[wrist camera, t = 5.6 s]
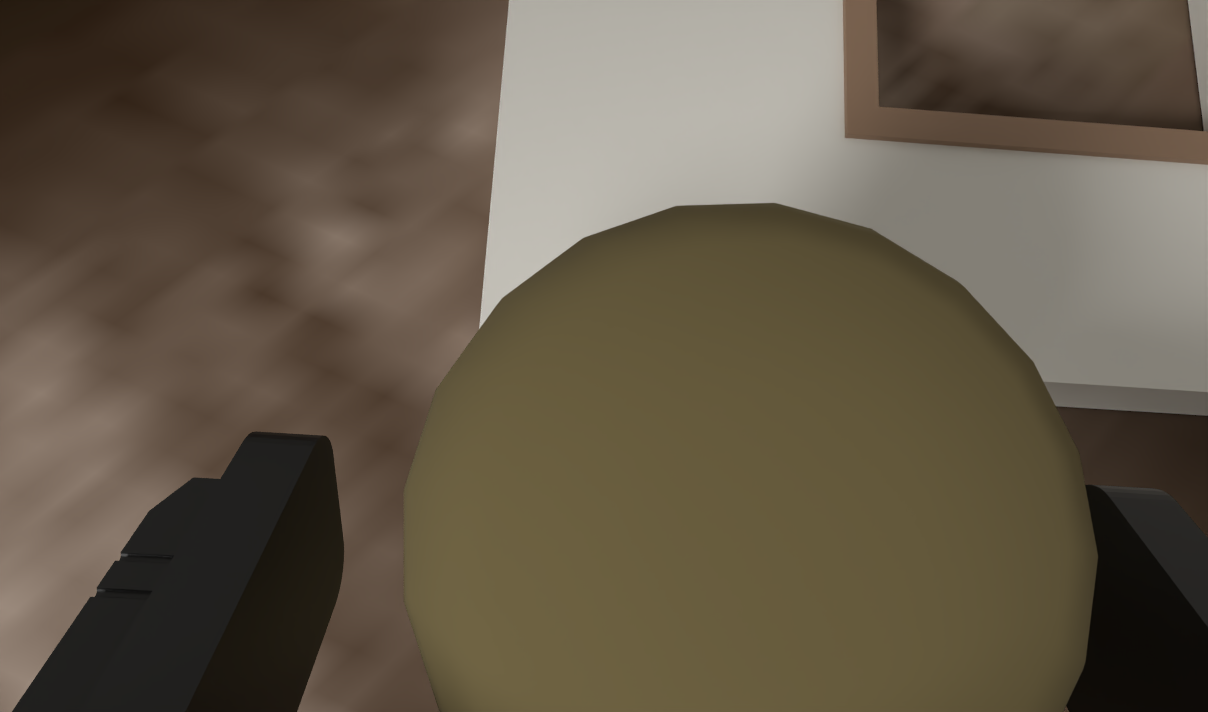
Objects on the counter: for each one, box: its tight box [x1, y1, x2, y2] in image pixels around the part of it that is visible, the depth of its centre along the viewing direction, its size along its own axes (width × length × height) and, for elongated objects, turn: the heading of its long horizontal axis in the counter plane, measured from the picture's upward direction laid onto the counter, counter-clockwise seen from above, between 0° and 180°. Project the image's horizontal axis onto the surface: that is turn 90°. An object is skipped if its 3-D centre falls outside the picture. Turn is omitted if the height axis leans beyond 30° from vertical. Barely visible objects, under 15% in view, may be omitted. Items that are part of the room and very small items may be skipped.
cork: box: [404, 203, 1098, 712], centre depth 10 cm, size 6×6×11 cm
